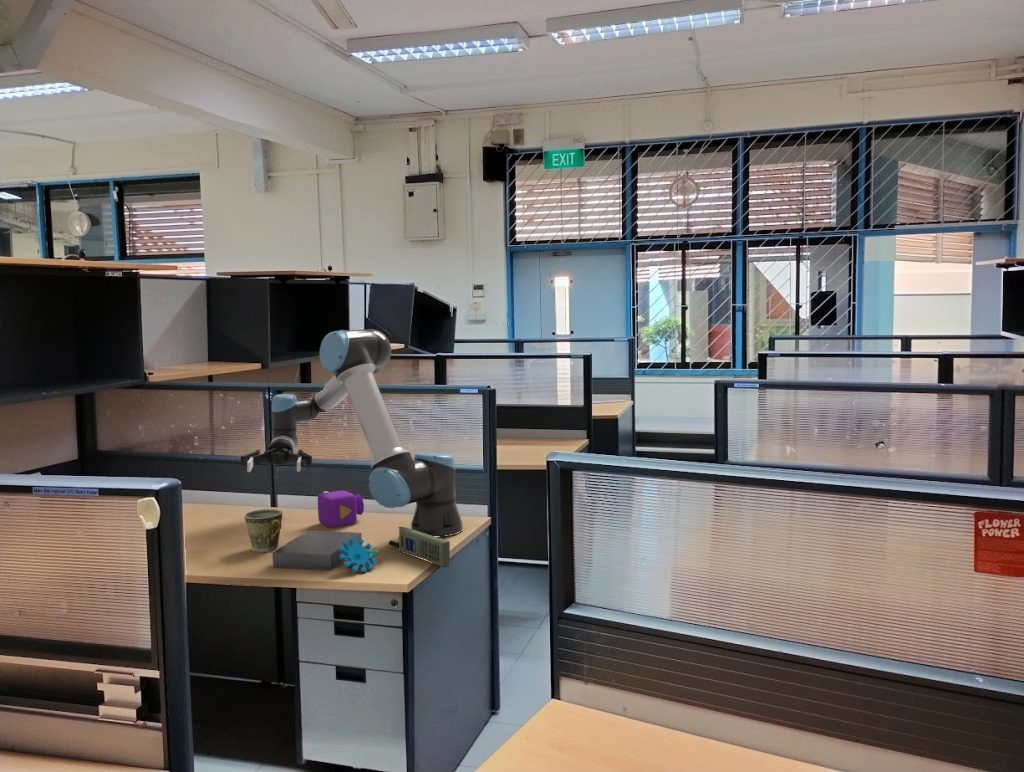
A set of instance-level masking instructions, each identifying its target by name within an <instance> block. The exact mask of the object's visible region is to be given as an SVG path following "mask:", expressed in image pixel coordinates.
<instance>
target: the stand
mask: <svg viewBox="0 0 1024 772" xmlns="http://www.w3.org/2000/svg"><path fill="white" fill-rule="evenodd" d="M362 537H363V535H362V532H355V531H354V532H352V531H348V532H347V531H329V530H327V531H326V530H307V531H305V532H303V533H302V534H300V535H299V536H297V537H295V538H293V539H292V540H290V541H289V542H287V543H285V544H284V545H281V547H279V548H277V549H276V550H273V551H271V552H272V568H273V567H278V568H277V569H293V568H295V570H296V569H298V570H312V571H313V570H316V571H332V570H334V569H335V568H337V567H338V566H339V565H340V564H342V563H344V562H345V561H346V560H345V559H343V560H341V559H340V555H341V554H344V555H345V556H347V555H346V554H345V553H343V552H340V551H339V549H340V547H341V546H344V545H343V544H342V543H343V541H345V540H348V545H349V546H351V543H350V541H349V540H350V539H351V538H355V539H356V540H355V542H354V544H355V545H357V544H358V541H359V539H360V538H361V539H362ZM362 540H363V539H362ZM361 546H363V544H361ZM344 548H345V550H347V549H346V547H345V546H344ZM341 562H342V563H341ZM337 565H338V566H337ZM334 567H335V568H334ZM333 568H334V569H333Z"/></svg>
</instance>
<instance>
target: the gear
mask: <svg viewBox="0 0 1024 772" xmlns="http://www.w3.org/2000/svg"><path fill="white" fill-rule="evenodd" d="M355 540H356V539H355V538H351V539H350V540H349V541H350V543H351V546H349V545H348V540H345V541H343V543H342V544H343V545H344V546H345V547H346V549H347V550H345V548H344V546H341V547H340V549H339V551H340V552H343V553H345V554H346V555H347V556H345V555H344V554H341V555H340V559H341V560H343V559H346V560H345V561H344V562H343V565H344V567H345V568H351V571H352V572H353V573H356V572H358V570H359V569H358V568H359V567H361V569H360V571H359V572H360V573H361V572H365V573H366V572H367V570H368V571H371V570H373V569H374V565H375V564H376V562H377V559H376V558H375V556H377V555H378V554H379V549H378V548H377V549H376V548H375V549H374V550H371V548H372V545H371V543H367V544H366V545H364V546H363V544H364V542H365V540H363V539H361V538H360V539H359V541H358V544H357V545H355V544H354V542H355ZM361 544H362V546H361ZM366 565H367V567H366Z"/></svg>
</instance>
